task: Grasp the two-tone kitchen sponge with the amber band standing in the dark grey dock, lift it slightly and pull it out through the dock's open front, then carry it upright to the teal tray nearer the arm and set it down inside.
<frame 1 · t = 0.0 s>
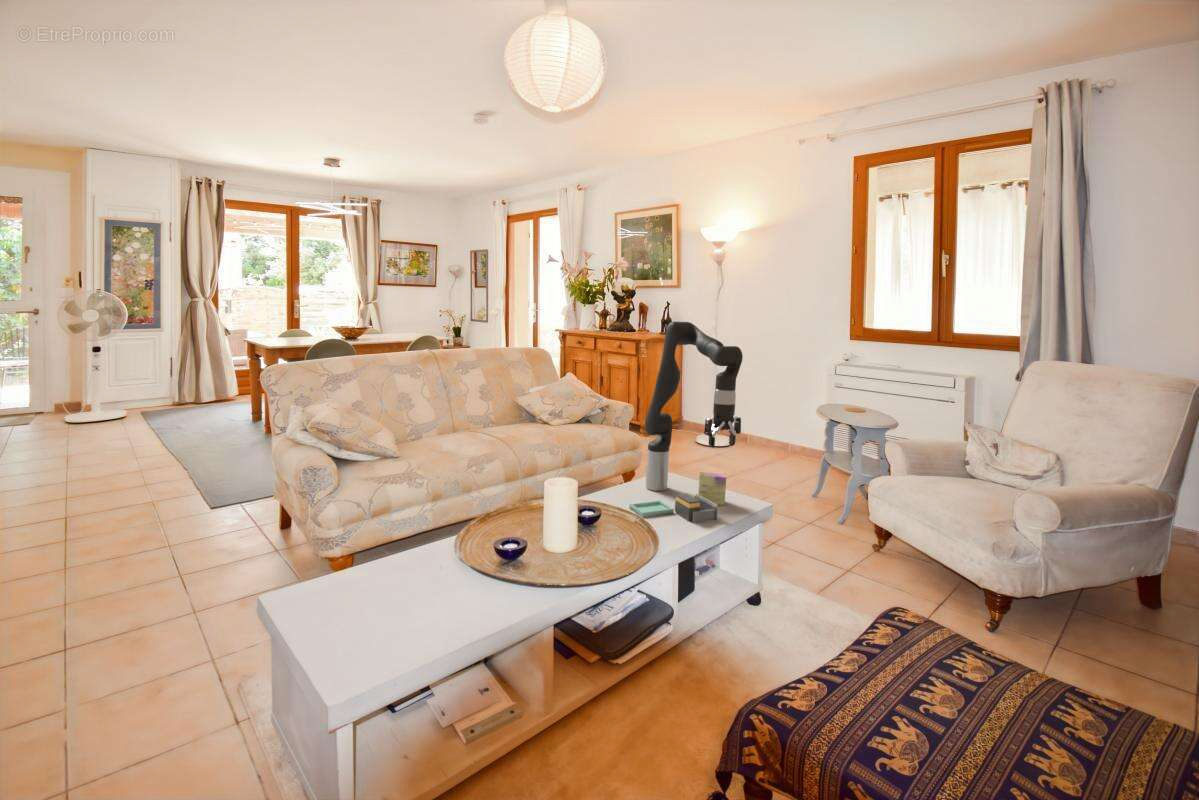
hand: (721, 446, 214), 29 cm above the table, fingers open, 8 cm apart
box: (711, 502, 243), on the table
tray: (651, 510, 230), on the table
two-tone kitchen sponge: (687, 516, 225), on the table
dock: (689, 516, 226), on the table
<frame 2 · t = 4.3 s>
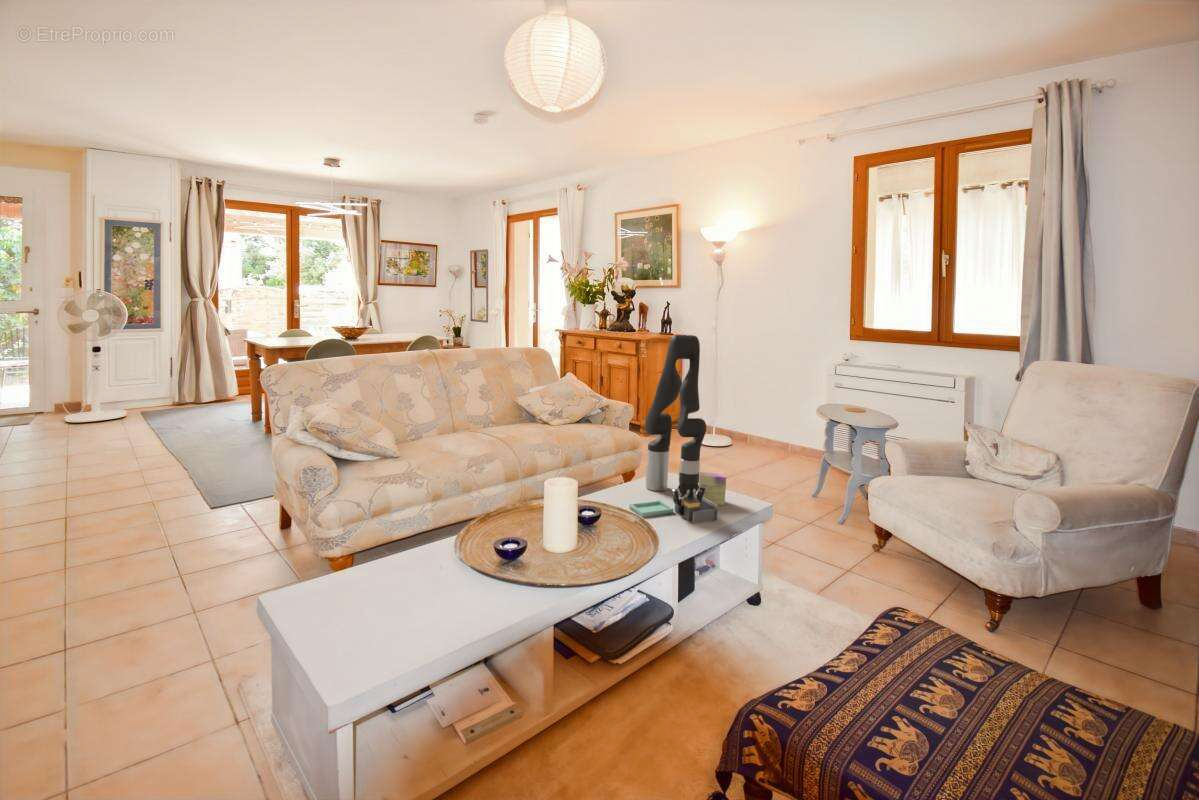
hand: (687, 513, 225), 1 cm above the table, fingers closed on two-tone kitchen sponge, 4 cm apart
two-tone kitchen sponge: (687, 516, 225), on the table, touching gripper
everything else where it was.
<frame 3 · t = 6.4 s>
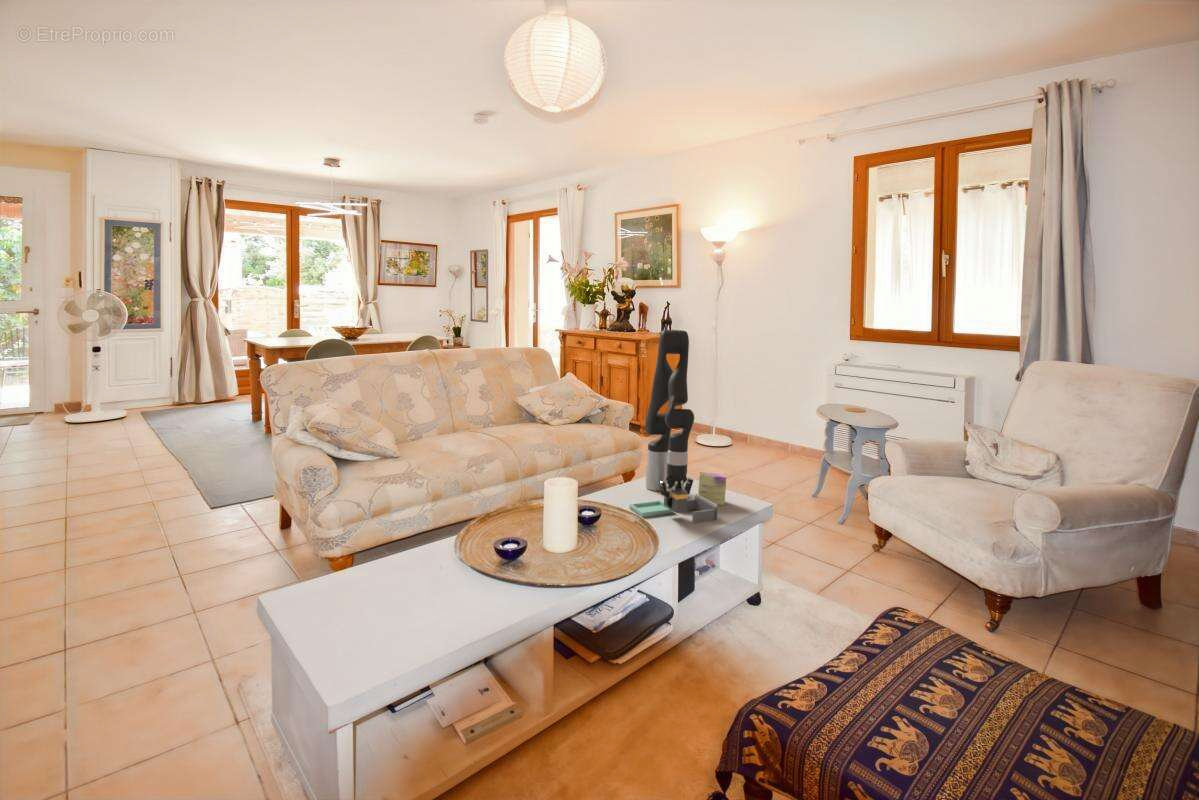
hand: (675, 505, 222), 5 cm above the table, fingers closed on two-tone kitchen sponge, 4 cm apart
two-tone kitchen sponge: (675, 508, 222), point 4 cm above the table, touching gripper
everything else where it was.
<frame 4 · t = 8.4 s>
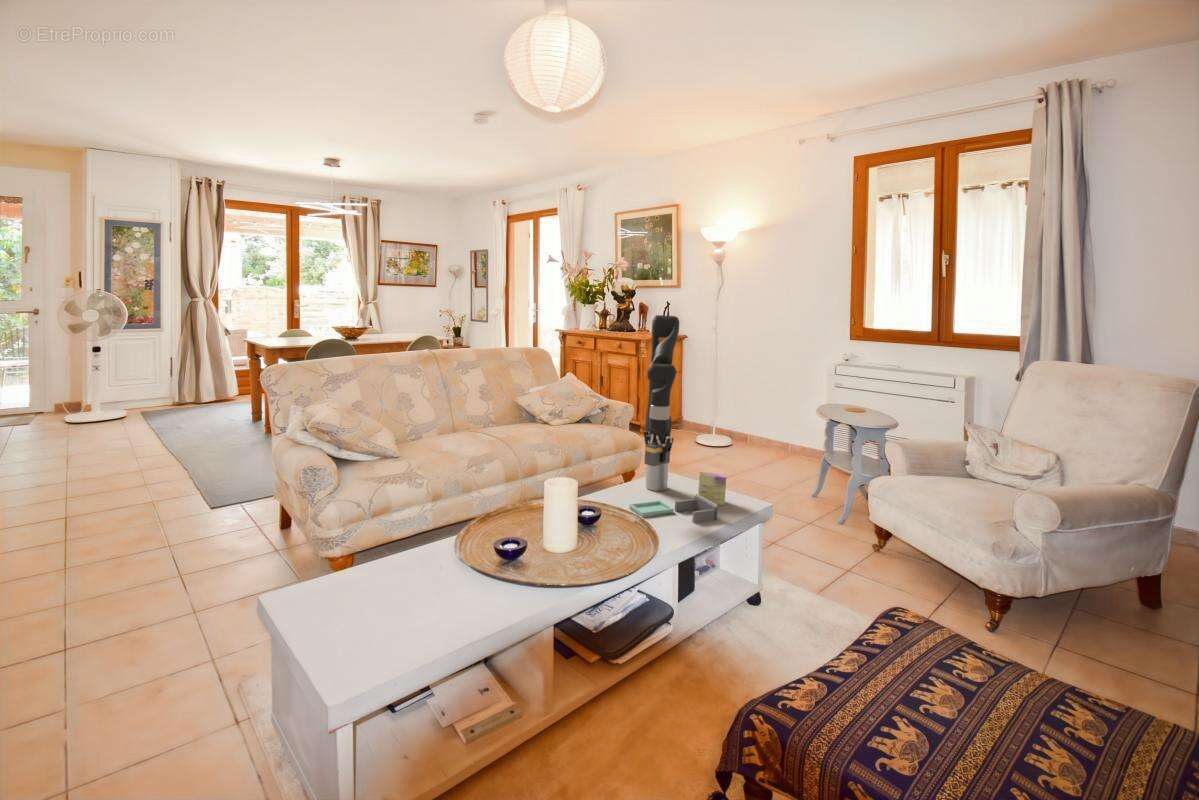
hand: (657, 460, 225), 21 cm above the table, fingers closed on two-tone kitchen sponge, 4 cm apart
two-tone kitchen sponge: (657, 463, 226), point 20 cm above the table, touching gripper
everything else where it was.
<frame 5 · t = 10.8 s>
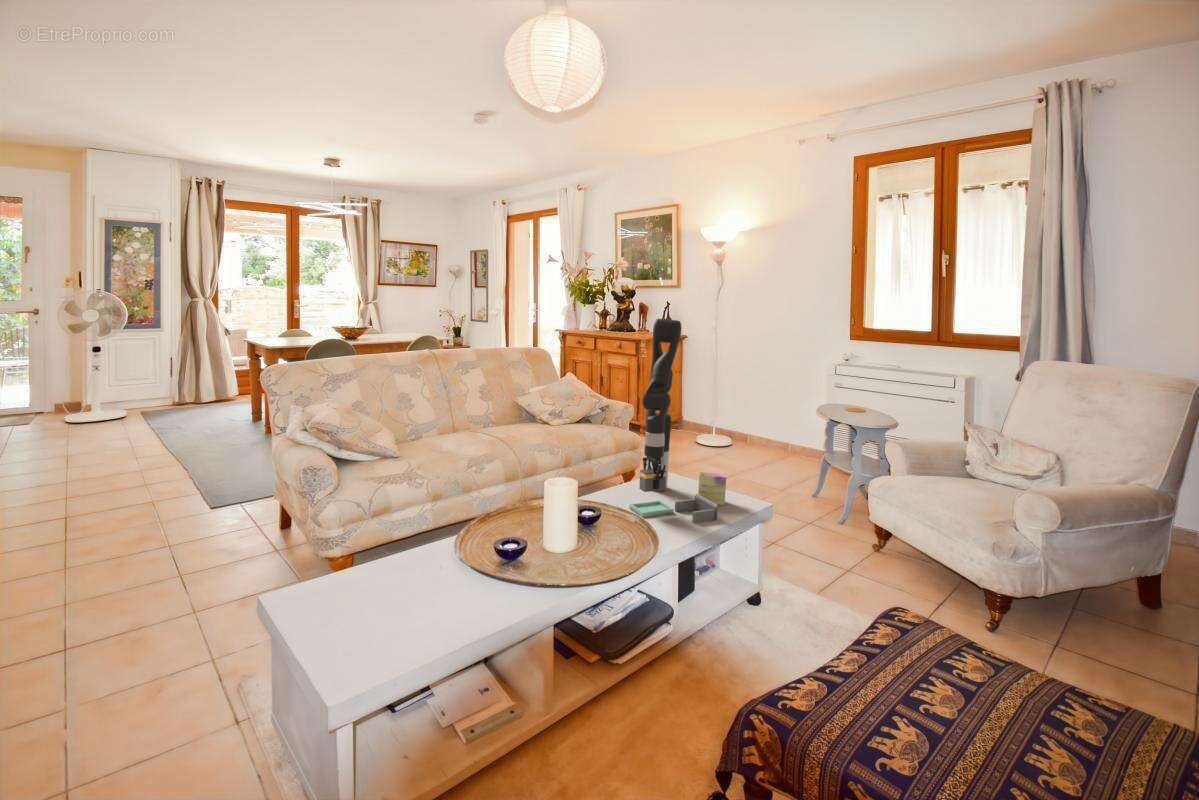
hand: (652, 486, 229), 10 cm above the table, fingers closed on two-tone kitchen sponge, 4 cm apart
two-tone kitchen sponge: (652, 489, 229), point 9 cm above the table, touching gripper
everything else where it was.
when the fingers open (3 cm above the table, at t = 13.0 s): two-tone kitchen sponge drops 1 cm, resting on tray.
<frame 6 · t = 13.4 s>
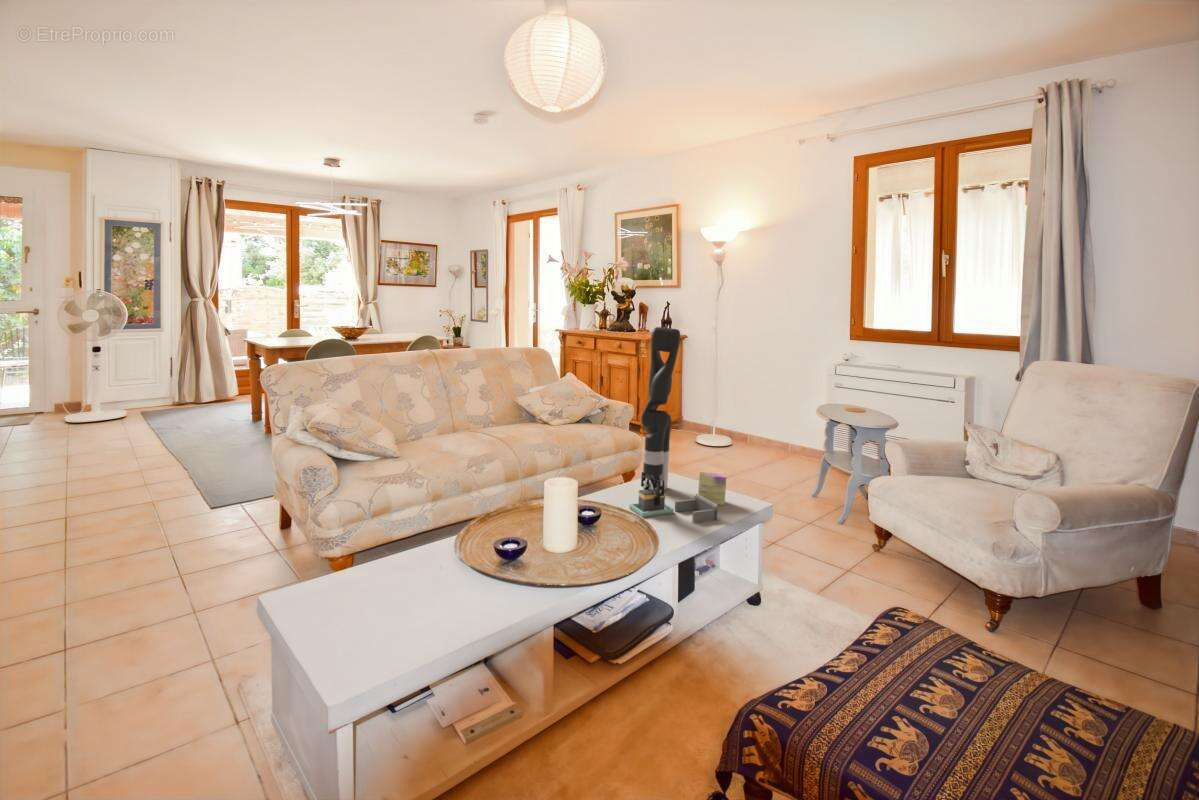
hand: (651, 502, 230), 4 cm above the table, fingers open, 8 cm apart
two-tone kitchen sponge: (651, 509, 230), point 1 cm above the table, touching tray
everything else where it was.
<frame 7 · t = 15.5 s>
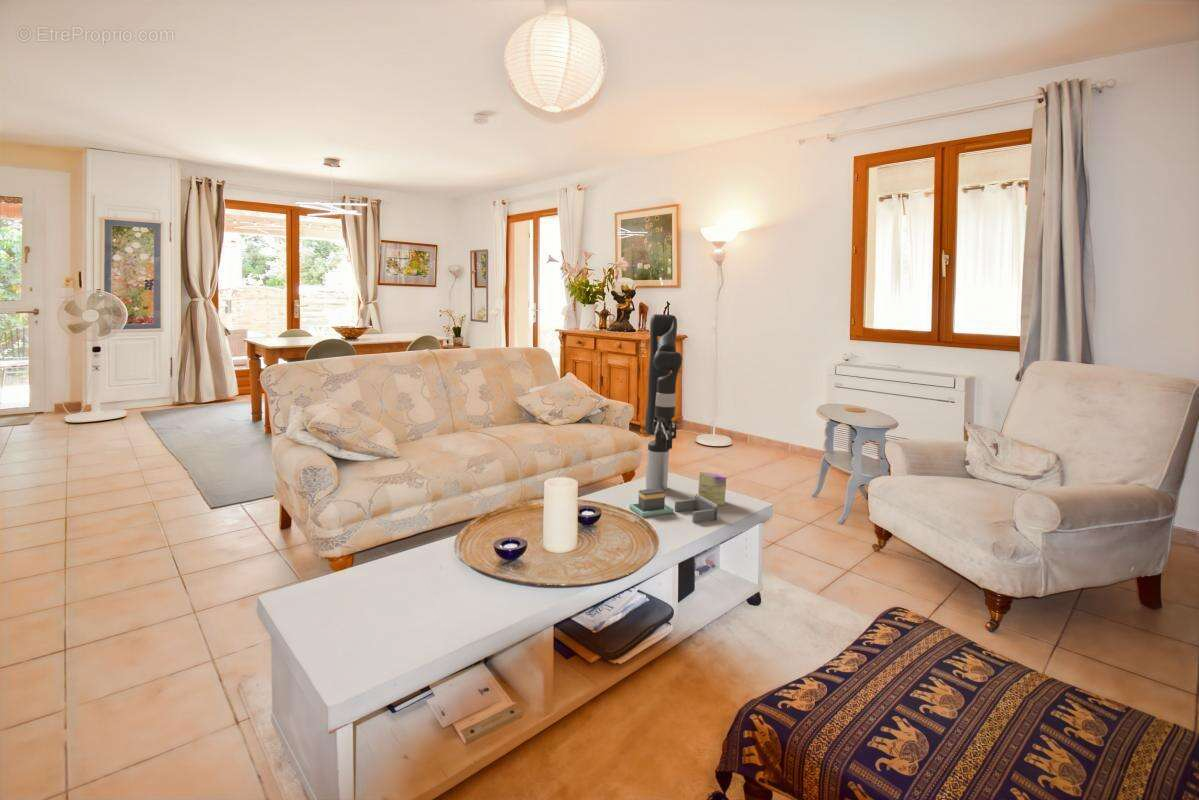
hand: (663, 446, 226), 26 cm above the table, fingers open, 8 cm apart
nothing on the table moved.
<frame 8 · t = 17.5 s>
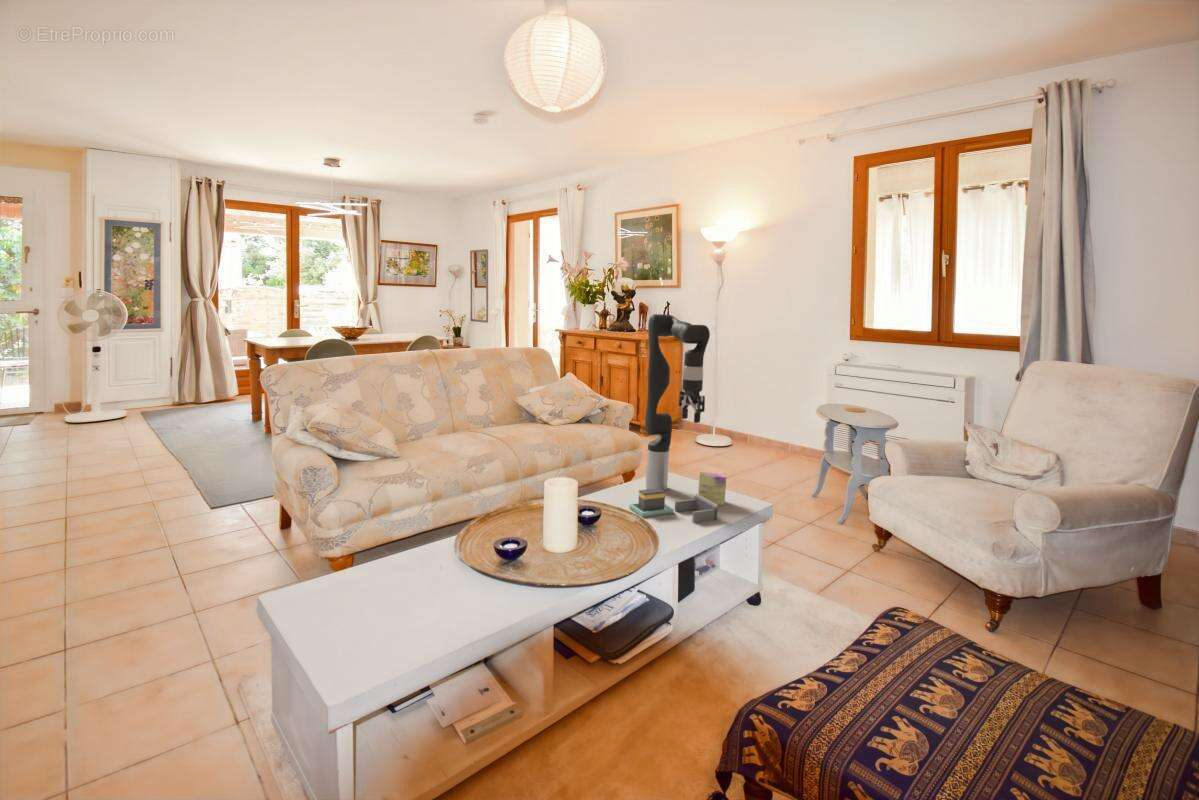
hand: (690, 420, 225), 36 cm above the table, fingers open, 8 cm apart
nothing on the table moved.
at the end: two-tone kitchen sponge inside the target area on the tray (0.0 cm from its centre), point 0.6 cm above the tray's base; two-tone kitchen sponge tilted 0°; the gripper is holding nothing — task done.
